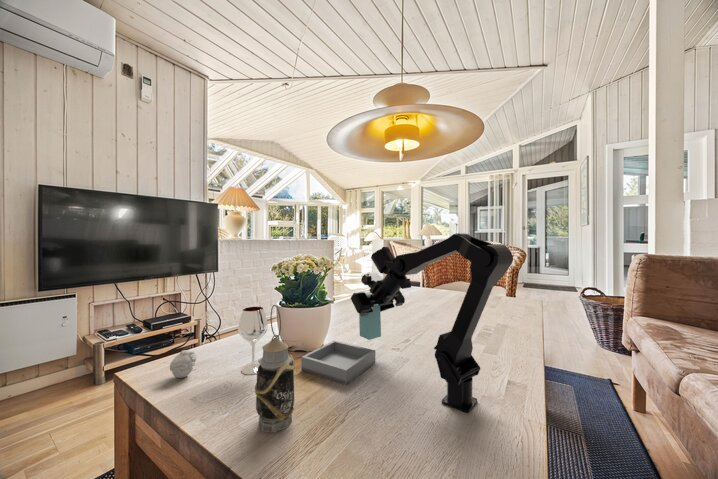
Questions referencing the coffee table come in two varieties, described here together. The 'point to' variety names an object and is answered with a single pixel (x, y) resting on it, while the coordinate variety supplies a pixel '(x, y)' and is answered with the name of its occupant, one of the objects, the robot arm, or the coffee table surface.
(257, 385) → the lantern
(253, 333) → the wineglass
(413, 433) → the coffee table surface
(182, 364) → the grey rounded lump
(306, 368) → the grey crate
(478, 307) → the robot arm
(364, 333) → the teal square pillar
